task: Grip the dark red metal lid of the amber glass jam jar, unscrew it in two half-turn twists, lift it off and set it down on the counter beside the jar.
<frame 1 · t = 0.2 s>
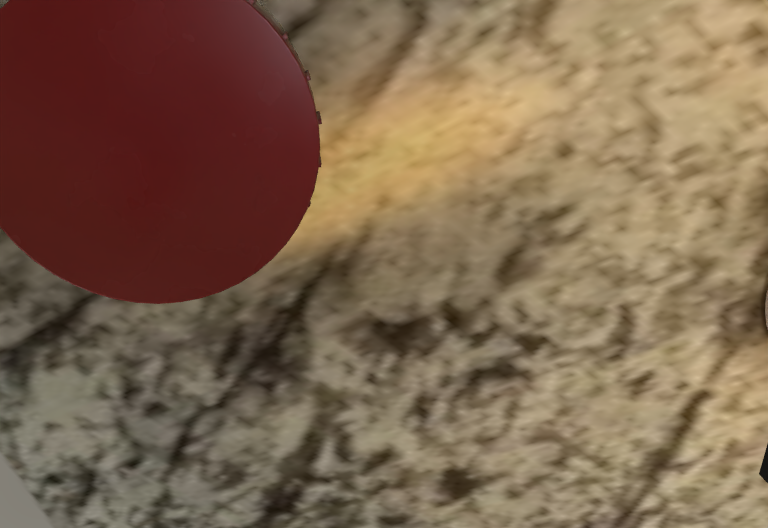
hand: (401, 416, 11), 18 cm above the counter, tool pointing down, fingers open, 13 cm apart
jam lid: (148, 142, 17), point 11 cm above the counter, screwed on, not yet turned
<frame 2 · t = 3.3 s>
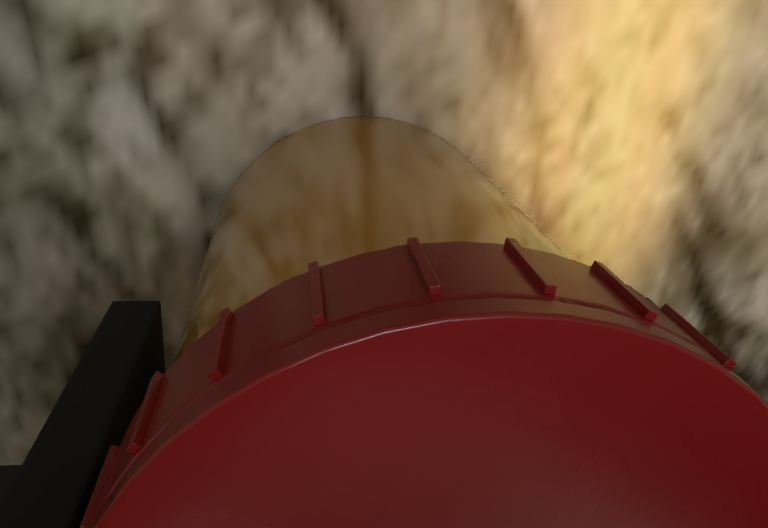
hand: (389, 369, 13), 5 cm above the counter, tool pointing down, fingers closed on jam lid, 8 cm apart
jam jar: (362, 265, 17), on the counter
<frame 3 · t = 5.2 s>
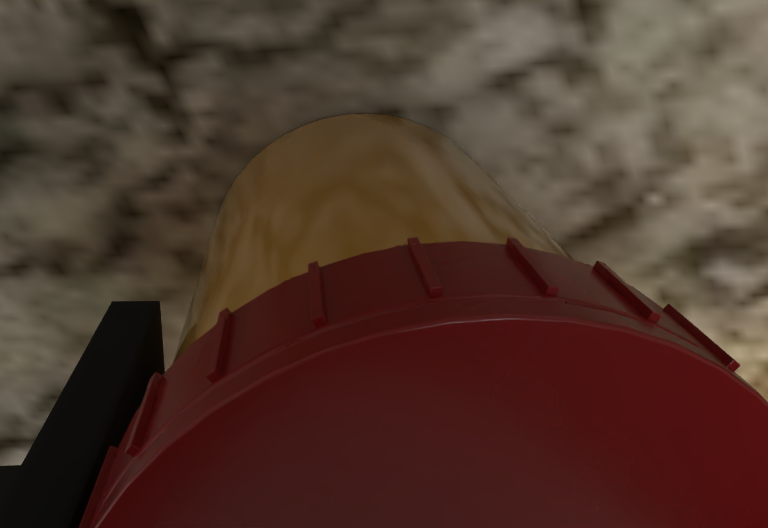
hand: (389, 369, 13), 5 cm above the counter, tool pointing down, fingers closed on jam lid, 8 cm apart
jam jar: (362, 262, 17), on the counter
when the fingers open (5 cm above the counter, at t = 6.8 s): jam lid stays where it is, point 11 cm above the counter.
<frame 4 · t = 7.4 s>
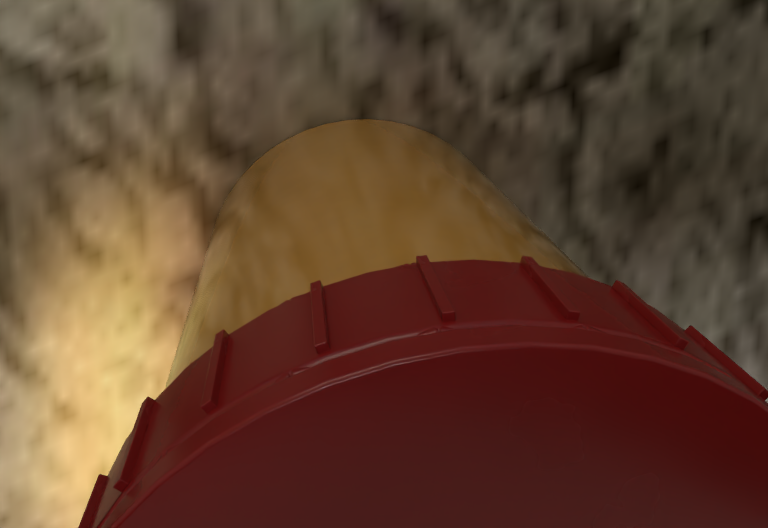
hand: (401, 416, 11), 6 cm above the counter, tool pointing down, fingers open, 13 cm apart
jam jar: (363, 270, 17), on the counter
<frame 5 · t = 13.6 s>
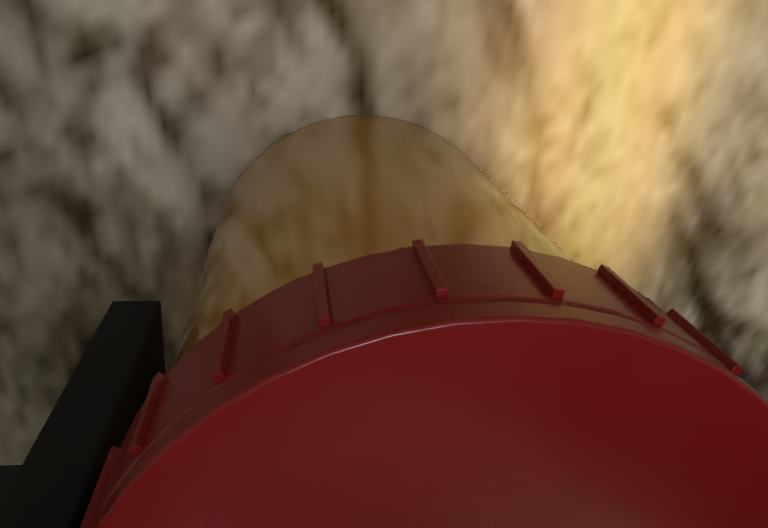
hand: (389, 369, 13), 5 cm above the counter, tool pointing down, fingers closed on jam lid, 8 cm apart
jam jar: (362, 263, 18), on the counter
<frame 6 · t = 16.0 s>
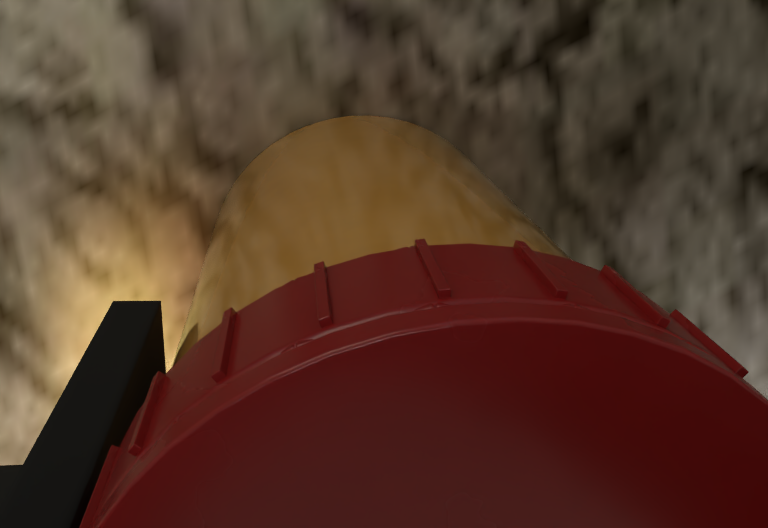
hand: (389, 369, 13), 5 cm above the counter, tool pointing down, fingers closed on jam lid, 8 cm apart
jam jar: (361, 262, 18), on the counter
when the fingers open (0 cm above the counter, at t = 23.5 s): jam lid drops 5 cm, point 1 cm above the counter.
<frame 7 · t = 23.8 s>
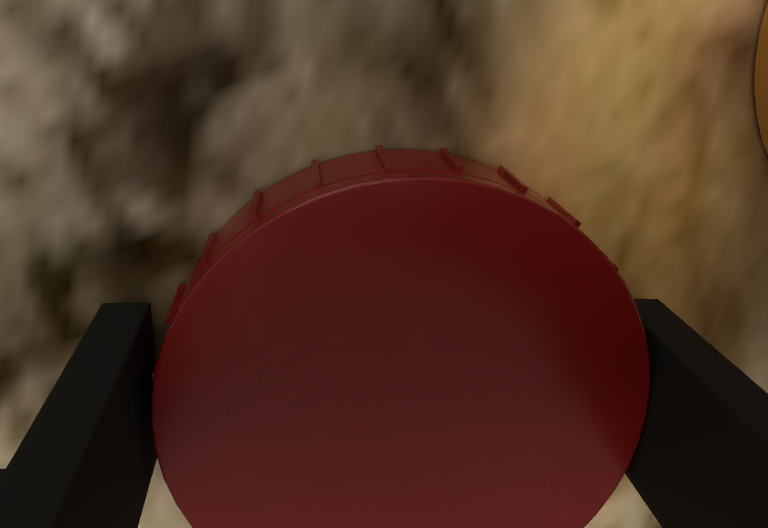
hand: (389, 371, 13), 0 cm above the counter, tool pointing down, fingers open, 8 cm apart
jam lid: (406, 408, 12), point 1 cm above the counter, off its thread
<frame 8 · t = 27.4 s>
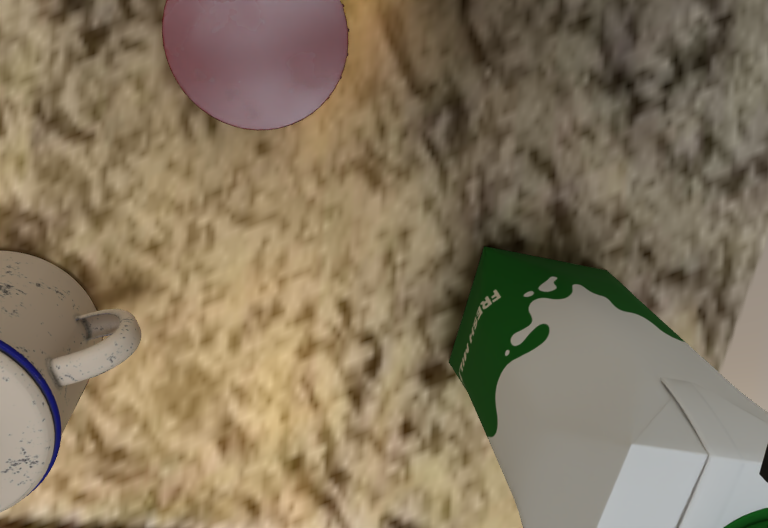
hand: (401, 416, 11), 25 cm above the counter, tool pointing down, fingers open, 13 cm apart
teacup with lid: (43, 318, 36), on the counter
jam lid: (257, 38, 31), point 1 cm above the counter, off its thread
milk carton: (524, 314, 39), on the counter
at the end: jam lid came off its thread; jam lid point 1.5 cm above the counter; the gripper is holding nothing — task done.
